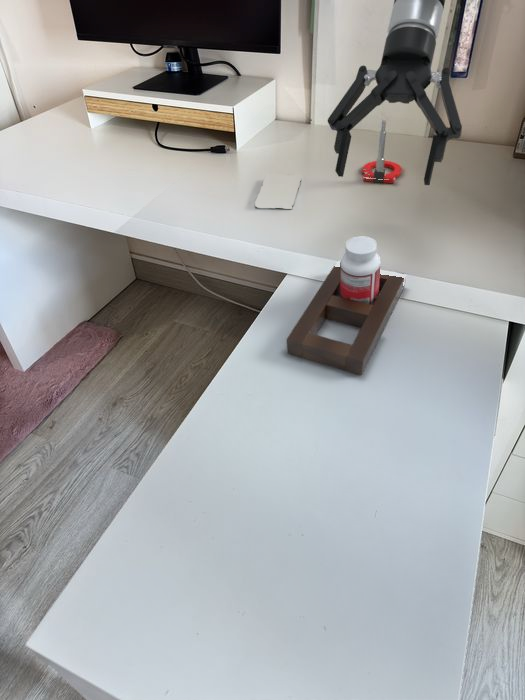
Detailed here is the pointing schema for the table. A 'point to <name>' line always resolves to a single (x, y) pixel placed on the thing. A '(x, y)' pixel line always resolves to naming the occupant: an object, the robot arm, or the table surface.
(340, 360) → the rack
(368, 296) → the pill bottle
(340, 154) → the robot arm
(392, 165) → the tow hook
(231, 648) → the table surface
